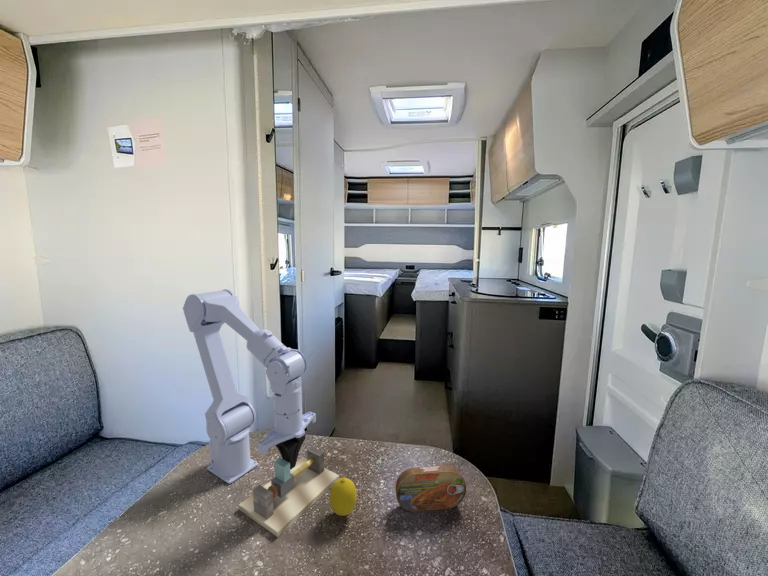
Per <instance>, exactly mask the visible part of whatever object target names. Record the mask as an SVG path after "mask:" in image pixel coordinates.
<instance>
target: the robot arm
mask: <svg viewBox="0 0 768 576" xmlns="http://www.w3.org/2000/svg"><path fill="white" fill-rule="evenodd" d="M182 311H183V314H184V317H185V320H186V324H187V327H188V329H189V332H190V333H193V336H194V339H195V343H196V346H197V349H198V353H199V357H200V359H201V362H202V363H201V364H202V366H203V369H204V372H205V376H206V380H207V383H208V387H209V390H210V393H211V396H212V399H213V401H212V403H211V405H209V407H208V408H207V410H206V411H205V413H204V415H205V419H206V420H205V421H206V426H205V427H206V434H207V436H208V438H209V442H208V449H209V462H210V463H209V465H207V467H206V470H207V471H209V472H210V473H212V474H213V475H215V476H217V477H218V478H220V479H221V480H222V481H224V482H226V484H228V485H229V484H232V483H234V482H235V481H237V480H238V479H239V478H241V477H242V476H244V475H245V474H247V473H248V472H250V471H252V470H253V469H255V468H256V467H257V466H259V462H257V461H255V460H254V459H252V458H251V450H250V446H251V445H250V431H251V430H252V425H254V424H255V422H256V419H257V418H256V417H257V414H256V410H255V408H254V407H253V405H252V403H251V402H250V399H249V396H248V395H246V394H242V393H240V392H238V390H237V388H236V384H235V381H234V377H233V374H232V371H231V368H230V365H229V361H228V358H227V355H226V351H225V348H224V344H223V342H222V338H221V334H220V330H221V328H222V326H223V325H224V324H225V325H227V326H229V327H230V328H231V329H232V330H233V331H234V332H236V333H237V334H238V335H239V336H241V337H242V339H244V340H246V349H247V351H249V352H250V353H251V354H252V356H254V357H255V359H256V360H258V362H260V363H261V364H262V366H263V367H265V368H266V369H265V374H266V377H267V379H268V381H269V383H270V389H271V393H272V392H273V394H272V395H273V413H274V414H273V417H274V418H273V419H274V427H273V428H272V429H271V430H270V432H268V433H267V434H266V435H265V436H264V437H263V439H261V440H260V441H259V442H256V443H257V444H256V446H257V453H259V454H260V455H263V456H265V455H267V454H268V453H269V450H271V449H272V448H274V447H276V449H277V450H278V452H279V454H280V456H281V458H282V459H283V460H285V461H287V462H289V463H290V469H292V468H294V467H295V466H296V462H297V461H298V457H299V453H300V450H301V449H302V448H301V447H302V446H303V443H304V441H305V440H306V431H305V429H306V428H307V427H308V425H310V424H314V423H316V422H317V414H316V413H315V412H312V411H308V412H305V413H304V414H303V395H302V394H303V393H302V390H303V389H302V375H304V374H305V373H306V371H307V368H308V363H307V362H308V361H307V359H306V357H305V355H304V354H303V353H302V351H300V349H296V348H295V349H294V348H291V347H287V346H286V345H285V344H284V343H282V341H280V340H279V339H278V338H277V337H276V336H275V335H274V333H273V332H272V331H271V330H269V329H267V328H266V329H260V328H259V327H258V326H257V325H256V324H255V322H253V320H252V319H251V317H249V316H248V315H247V313H246V312H245V311H244V310H243V309H242V307H241V306H240V301H239V297H238V296H236V295H235V294H234V292H232V290H230V289H227V288H226V289H222V290H217V291H210V292H203V293H198V294H197V293H193V294H192V293H191V294H189V295H188V296H187V297H186V298H185V301H184V304H183V307H182Z"/></svg>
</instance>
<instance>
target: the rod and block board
mask: <svg viewBox="0 0 768 576" xmlns="http://www.w3.org/2000/svg"><path fill="white" fill-rule="evenodd" d="M290 473H291V474H293V475H294V488H293V489H292V490H291V491H290V492H288V493H287V494H286V495H285V496H284V497H282V498H280V497H278V494H279V487H278V486H277V485H276V486H275V485H271V480H270V481H268V482H267V483H266V484H265V485H263V486H262V485H260V484H259V485H257V486H256V487H255V488H253V489H252V494H251V495H250V496H248V497H247V498H246V499H245V500H243V501H242V502H241V503H239V504H238V509H239V511H240V512H241V513H242V514H244V515H246V517H248V518H250V519H251V520H253V521H254V522H256V523H257V524H258V525H259V526H260V527H262V528H264V529H265V530H267V531H268V532H269V533H270V534H272V535H274V536H275V537H276V538H280V536H281V535H283V534H284V533H285V532H286V531H287V530H288V529H289V528H290V527H291V526H292V525H293V524H295V522H296V521H298V520H299V518H301V516H302V515H304V514H305V513H306V512H307V511H308V510H309V509H310V508H311V507H312V506H313V505H314V504H315V503H317V502H318V501H319V500H320V498H322V497H324V495H325V494H326V493H327V492H328V491H329V490H331V488H332V486H333V484H334V483H335V482H336V481H337V480H338V479H340V475H339V474H337V473H335V472H334V471H331V470H330V469H327V468H325V452H324V451H322V450H320V449H318V448H315V447H313V446H311V447H309V448H308V449H307V450H306V458H305V457H304V456H302V457H301V458H299V459H297V462H296V466H295V467H294V468H292V469H290Z"/></svg>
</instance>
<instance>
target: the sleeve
mask: <svg viewBox="0 0 768 576" xmlns="http://www.w3.org/2000/svg"><path fill="white" fill-rule="evenodd" d="M273 463H274V477H273V478H271V479H270V481H271V485H275V486H276V485H277V486H278V487H279V494H278V497H280V498H282V497H284V496H285V495H286V494H287V493H288V492H290V491H291V490H292V489H293V488H294V475H293V474H291V473H290V463H289V462H287V461H285V460H283V459H282V457H279V458H278V459H277V460H276V461H274V462H273Z"/></svg>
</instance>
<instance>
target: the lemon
mask: <svg viewBox="0 0 768 576" xmlns="http://www.w3.org/2000/svg"><path fill="white" fill-rule="evenodd" d="M329 492H330V493H329V503H330V504H329V505H330V507H331V509H332V511H333V513H334V514H336V515H338V516H342V517H343V516H348V515H350V514H351V513H352V512H353V511H354V509H355V507H356V504H357V501H358V495H357V494H358V493H357V489H356V485H355V483H354V482H353V481H352V480H351V479H350V478H347V477H339V479H338V480H337V481H336V482H335V483H334V484H333V486H332V487H331V488H330V491H329Z"/></svg>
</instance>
